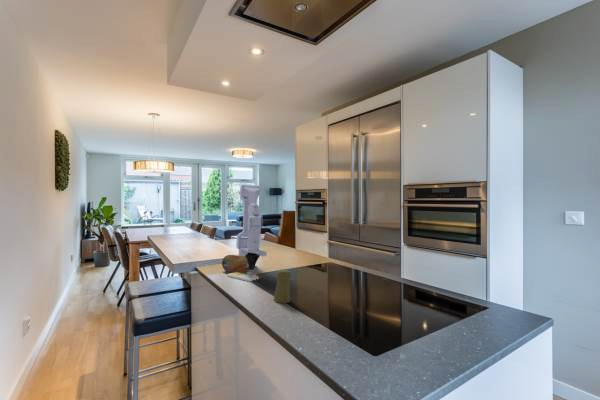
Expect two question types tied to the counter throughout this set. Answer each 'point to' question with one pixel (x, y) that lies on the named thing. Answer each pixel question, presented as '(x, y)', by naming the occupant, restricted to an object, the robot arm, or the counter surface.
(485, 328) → the counter surface
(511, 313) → the counter surface
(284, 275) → the olive green tapered cylinder
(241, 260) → the tin
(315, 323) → the counter surface
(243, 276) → the label board
